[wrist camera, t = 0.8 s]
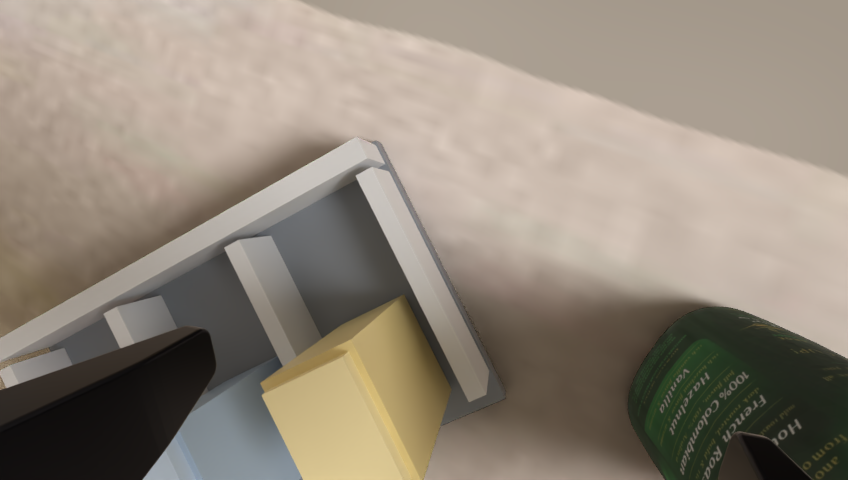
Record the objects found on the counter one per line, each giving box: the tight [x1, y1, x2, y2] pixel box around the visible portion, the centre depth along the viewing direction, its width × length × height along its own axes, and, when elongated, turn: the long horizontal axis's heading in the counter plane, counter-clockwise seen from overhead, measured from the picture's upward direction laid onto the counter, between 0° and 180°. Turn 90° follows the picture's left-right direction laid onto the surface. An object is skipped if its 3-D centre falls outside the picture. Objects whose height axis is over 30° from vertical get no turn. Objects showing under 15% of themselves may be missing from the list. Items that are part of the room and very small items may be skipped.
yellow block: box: [260, 295, 452, 480], centre depth 19 cm, size 4×5×9 cm
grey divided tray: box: [0, 137, 506, 480], centre depth 24 cm, size 22×14×4 cm, turn 117°
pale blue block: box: [143, 356, 302, 480], centre depth 21 cm, size 4×5×9 cm
